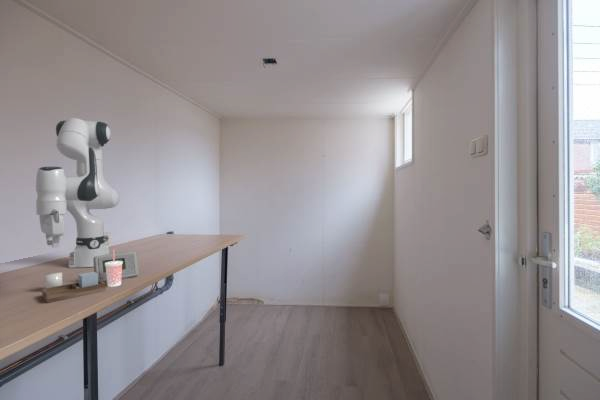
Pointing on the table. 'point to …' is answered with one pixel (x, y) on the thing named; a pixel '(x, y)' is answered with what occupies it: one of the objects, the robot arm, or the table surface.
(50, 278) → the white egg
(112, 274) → the beverage cup
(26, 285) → the table surface
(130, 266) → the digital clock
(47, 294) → the organiser base
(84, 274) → the blue cube
